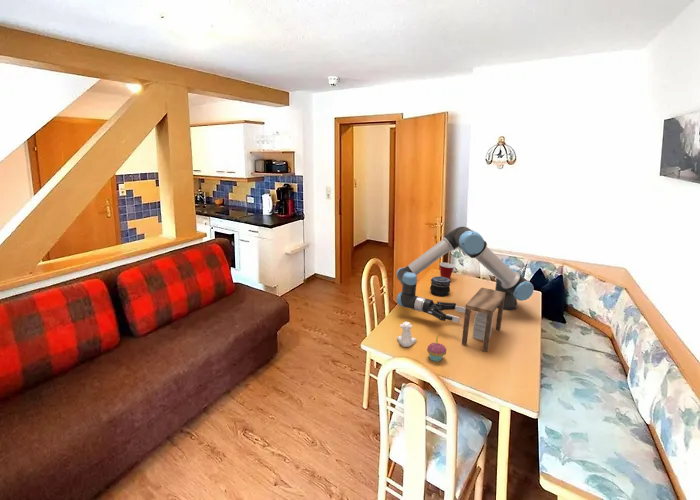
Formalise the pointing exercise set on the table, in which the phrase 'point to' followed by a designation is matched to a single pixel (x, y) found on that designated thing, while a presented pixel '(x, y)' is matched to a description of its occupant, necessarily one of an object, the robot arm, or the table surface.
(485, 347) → the walnut stool
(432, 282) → the container
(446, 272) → the plastic cup
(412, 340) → the seated beast figurine
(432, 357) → the cupcake
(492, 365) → the table surface
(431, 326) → the table surface
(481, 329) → the supplement box
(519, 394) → the table surface
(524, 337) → the table surface
